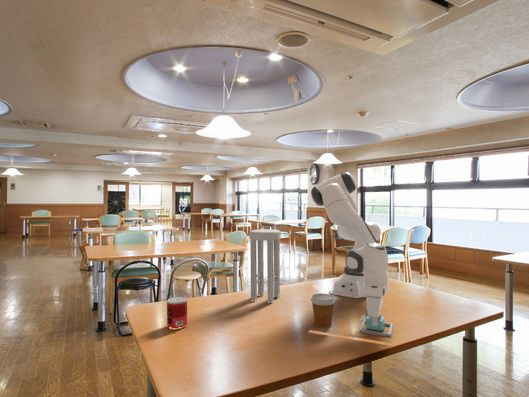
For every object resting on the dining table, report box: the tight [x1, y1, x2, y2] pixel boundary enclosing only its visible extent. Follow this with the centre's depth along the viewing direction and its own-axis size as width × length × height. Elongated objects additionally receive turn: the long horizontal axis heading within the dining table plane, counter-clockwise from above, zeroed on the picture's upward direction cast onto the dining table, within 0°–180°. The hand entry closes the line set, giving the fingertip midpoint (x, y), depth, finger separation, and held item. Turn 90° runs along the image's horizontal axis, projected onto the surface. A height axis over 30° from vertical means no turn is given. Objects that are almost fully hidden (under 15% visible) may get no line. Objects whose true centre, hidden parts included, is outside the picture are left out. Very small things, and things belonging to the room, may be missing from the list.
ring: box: [365, 315, 385, 332], centre depth 127 cm, size 6×6×4 cm
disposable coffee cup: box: [310, 293, 336, 328], centre depth 132 cm, size 10×10×12 cm
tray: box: [359, 320, 394, 338], centre depth 127 cm, size 11×11×2 cm
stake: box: [358, 308, 368, 322], centre depth 137 cm, size 7×7×5 cm
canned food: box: [166, 296, 188, 328], centre depth 133 cm, size 8×8×11 cm
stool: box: [249, 228, 282, 304], centre depth 169 cm, size 16×16×35 cm
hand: (376, 322), depth 127 cm, fingers closed on ring, 6 cm apart
